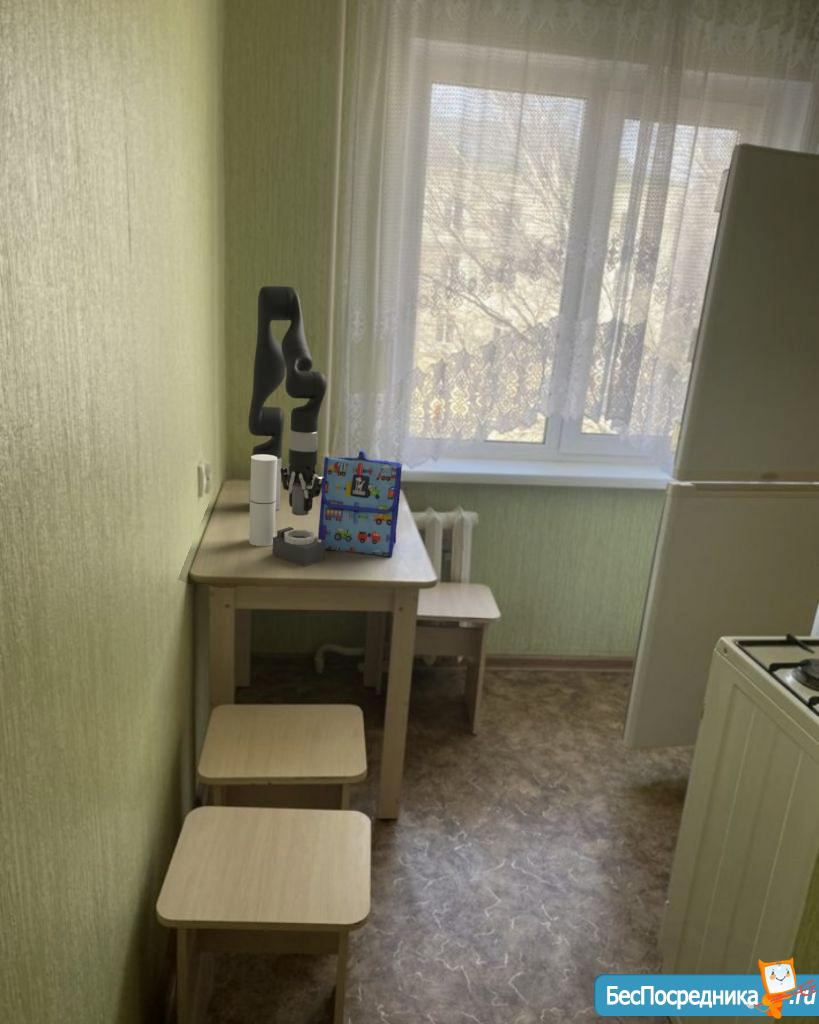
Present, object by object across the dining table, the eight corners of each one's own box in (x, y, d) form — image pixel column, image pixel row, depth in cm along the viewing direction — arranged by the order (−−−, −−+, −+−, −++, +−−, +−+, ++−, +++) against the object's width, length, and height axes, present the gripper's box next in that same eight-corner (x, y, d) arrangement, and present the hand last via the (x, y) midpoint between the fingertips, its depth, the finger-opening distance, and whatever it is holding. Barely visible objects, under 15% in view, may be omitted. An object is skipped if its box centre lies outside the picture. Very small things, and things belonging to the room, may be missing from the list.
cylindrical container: (250, 546, 215) (252, 460, 207) (248, 537, 221) (250, 454, 214) (275, 546, 217) (278, 460, 209) (272, 537, 223) (275, 454, 216)
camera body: (272, 554, 210) (273, 531, 208) (292, 547, 217) (293, 525, 215) (305, 566, 204) (306, 543, 202) (324, 558, 211) (325, 536, 209)
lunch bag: (316, 550, 217) (322, 451, 208) (324, 535, 230) (330, 441, 221) (392, 558, 216) (401, 459, 207) (396, 542, 229) (404, 448, 220)
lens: (288, 512, 206) (289, 482, 203) (299, 509, 210) (300, 479, 207) (301, 516, 204) (302, 485, 201) (311, 513, 207) (313, 482, 205)
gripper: (273, 443, 202) (271, 505, 207) (314, 454, 195) (311, 517, 200) (292, 440, 208) (290, 500, 213) (333, 450, 201) (329, 512, 206)
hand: (300, 508), depth 206 cm, fingers closed on lens, 4 cm apart
